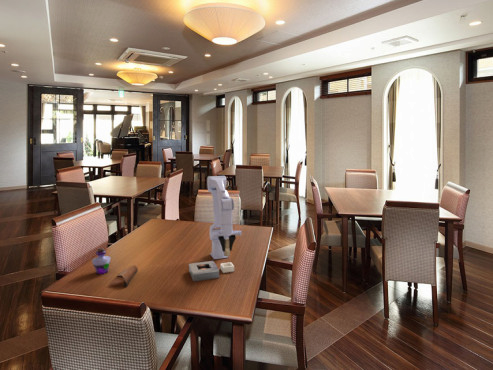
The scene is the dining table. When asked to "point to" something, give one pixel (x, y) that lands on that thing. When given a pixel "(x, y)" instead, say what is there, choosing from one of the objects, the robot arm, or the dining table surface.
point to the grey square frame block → (203, 271)
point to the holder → (227, 267)
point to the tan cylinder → (227, 247)
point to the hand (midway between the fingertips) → (226, 250)
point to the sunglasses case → (124, 277)
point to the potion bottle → (101, 261)
